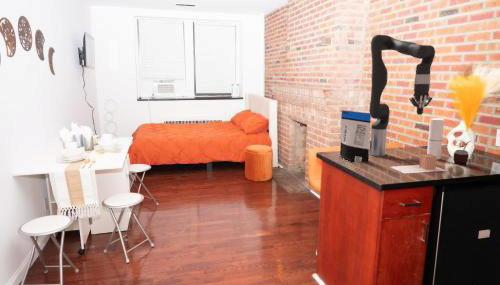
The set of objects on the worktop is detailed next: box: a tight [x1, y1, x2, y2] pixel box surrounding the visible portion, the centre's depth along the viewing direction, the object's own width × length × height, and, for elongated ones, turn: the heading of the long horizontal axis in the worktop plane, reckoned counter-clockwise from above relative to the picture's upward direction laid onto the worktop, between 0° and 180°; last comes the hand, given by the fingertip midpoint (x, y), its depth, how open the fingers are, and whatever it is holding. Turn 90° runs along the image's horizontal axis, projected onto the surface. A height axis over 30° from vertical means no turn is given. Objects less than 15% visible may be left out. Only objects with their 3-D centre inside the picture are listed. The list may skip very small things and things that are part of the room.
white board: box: [390, 164, 447, 174], centre depth 173 cm, size 24×13×2 cm, turn 99°
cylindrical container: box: [426, 117, 445, 160], centre depth 193 cm, size 7×7×25 cm
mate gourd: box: [453, 140, 471, 166], centre depth 183 cm, size 8×8×15 cm
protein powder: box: [339, 109, 372, 163], centre depth 196 cm, size 10×24×30 cm, turn 25°
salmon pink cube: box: [418, 153, 438, 170], centre depth 173 cm, size 6×6×7 cm
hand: (419, 114), depth 180 cm, fingers closed
